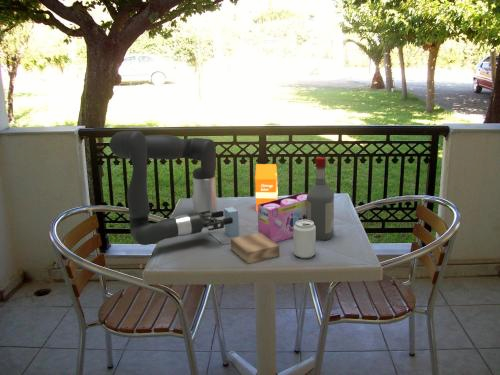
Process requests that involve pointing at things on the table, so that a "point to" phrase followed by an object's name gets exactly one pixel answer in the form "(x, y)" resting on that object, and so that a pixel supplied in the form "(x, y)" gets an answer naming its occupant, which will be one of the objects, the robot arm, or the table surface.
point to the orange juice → (266, 183)
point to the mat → (226, 239)
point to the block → (232, 228)
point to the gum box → (281, 216)
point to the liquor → (321, 203)
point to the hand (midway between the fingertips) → (227, 216)
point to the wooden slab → (254, 247)
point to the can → (304, 238)
